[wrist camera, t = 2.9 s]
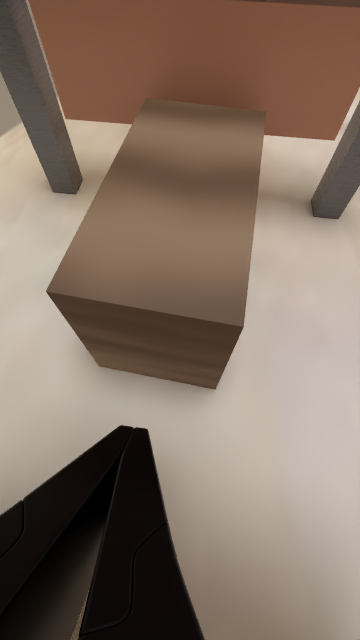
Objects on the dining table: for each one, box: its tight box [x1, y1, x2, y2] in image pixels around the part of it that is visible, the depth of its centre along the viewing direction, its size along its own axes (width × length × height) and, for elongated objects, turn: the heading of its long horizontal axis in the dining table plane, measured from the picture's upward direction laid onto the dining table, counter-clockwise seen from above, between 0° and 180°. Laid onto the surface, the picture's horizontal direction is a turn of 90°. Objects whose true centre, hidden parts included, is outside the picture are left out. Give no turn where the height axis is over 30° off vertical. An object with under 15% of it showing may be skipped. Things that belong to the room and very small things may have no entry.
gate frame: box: [0, 0, 360, 219], centre depth 18 cm, size 2×24×14 cm, turn 83°
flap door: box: [29, 0, 360, 140], centre depth 17 cm, size 1×18×6 cm, turn 83°
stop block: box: [46, 98, 266, 389], centre depth 17 cm, size 14×7×8 cm, turn 169°
